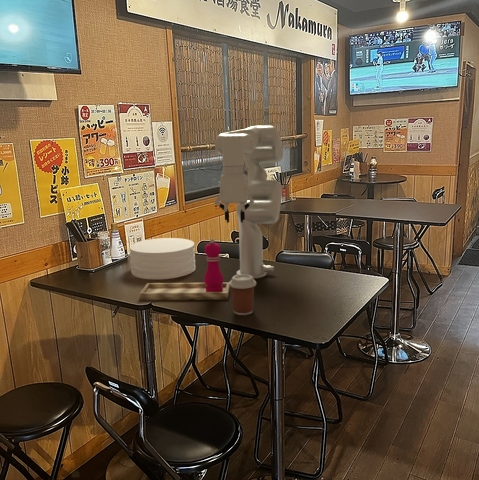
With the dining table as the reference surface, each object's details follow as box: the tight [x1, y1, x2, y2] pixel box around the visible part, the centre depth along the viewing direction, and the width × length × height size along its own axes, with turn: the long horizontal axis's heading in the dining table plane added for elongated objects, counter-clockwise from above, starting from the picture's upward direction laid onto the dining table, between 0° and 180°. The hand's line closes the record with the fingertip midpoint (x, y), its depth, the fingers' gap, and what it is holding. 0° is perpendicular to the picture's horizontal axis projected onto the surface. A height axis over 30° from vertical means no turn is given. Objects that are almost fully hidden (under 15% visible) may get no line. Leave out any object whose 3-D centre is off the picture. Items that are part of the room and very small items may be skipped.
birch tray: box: [138, 281, 231, 301], centre depth 179 cm, size 32×12×2 cm, turn 88°
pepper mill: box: [203, 238, 225, 292], centre depth 176 cm, size 7×7×20 cm
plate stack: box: [129, 237, 196, 280], centre depth 211 cm, size 28×28×12 cm
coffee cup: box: [229, 274, 257, 316], centre depth 159 cm, size 9×9×12 cm
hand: (234, 221), depth 172 cm, fingers open, 4 cm apart
